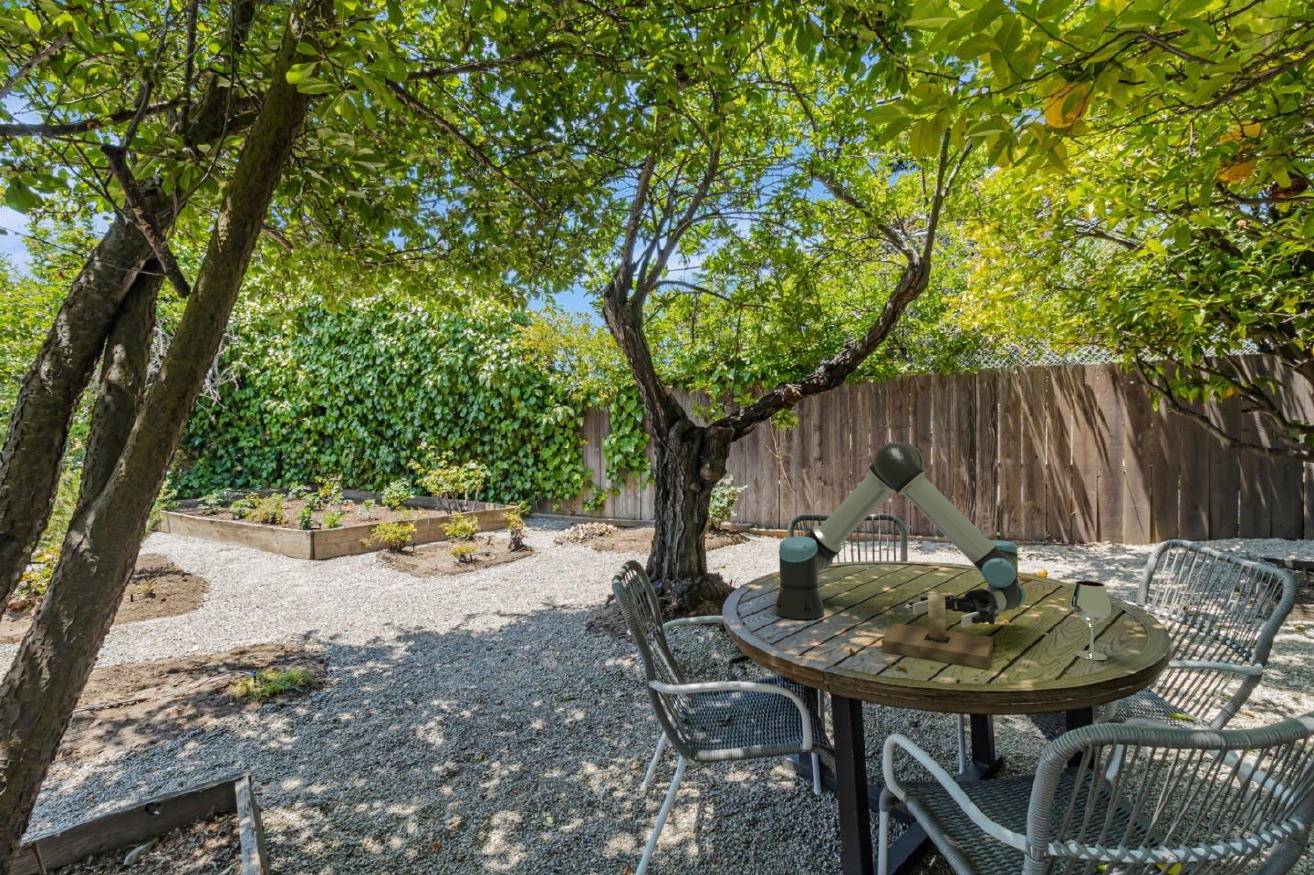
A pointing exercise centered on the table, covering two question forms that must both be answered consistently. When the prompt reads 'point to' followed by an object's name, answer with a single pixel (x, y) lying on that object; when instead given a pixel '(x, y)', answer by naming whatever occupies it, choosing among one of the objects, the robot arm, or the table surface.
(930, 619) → the peg
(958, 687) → the table surface
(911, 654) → the board
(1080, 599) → the wineglass
